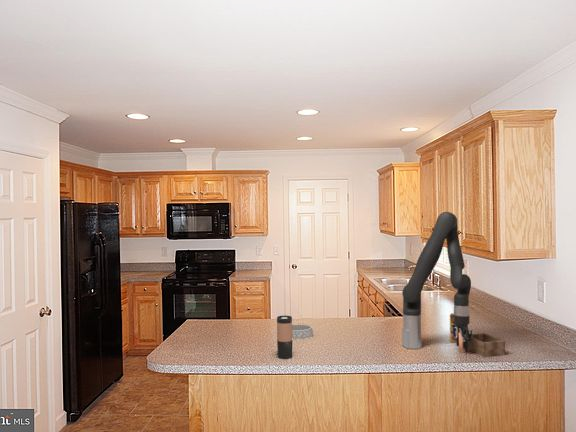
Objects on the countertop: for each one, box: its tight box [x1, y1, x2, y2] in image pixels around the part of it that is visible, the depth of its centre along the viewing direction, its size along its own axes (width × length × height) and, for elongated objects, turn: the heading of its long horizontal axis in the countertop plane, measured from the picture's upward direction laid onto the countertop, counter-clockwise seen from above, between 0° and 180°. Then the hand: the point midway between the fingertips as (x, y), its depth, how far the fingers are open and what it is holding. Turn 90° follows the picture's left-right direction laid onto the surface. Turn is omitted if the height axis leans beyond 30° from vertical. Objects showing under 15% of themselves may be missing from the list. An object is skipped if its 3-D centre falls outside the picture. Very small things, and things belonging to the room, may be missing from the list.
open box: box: [466, 332, 506, 358], centre depth 237 cm, size 12×16×7 cm
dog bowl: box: [292, 323, 314, 340], centre depth 275 cm, size 17×18×5 cm
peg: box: [458, 332, 466, 354], centre depth 237 cm, size 3×3×10 cm
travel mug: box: [276, 315, 293, 360], centre depth 234 cm, size 8×8×20 cm
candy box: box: [449, 312, 466, 343], centre depth 254 cm, size 9×4×15 cm, turn 60°
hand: (462, 347), depth 237 cm, fingers open, 5 cm apart
